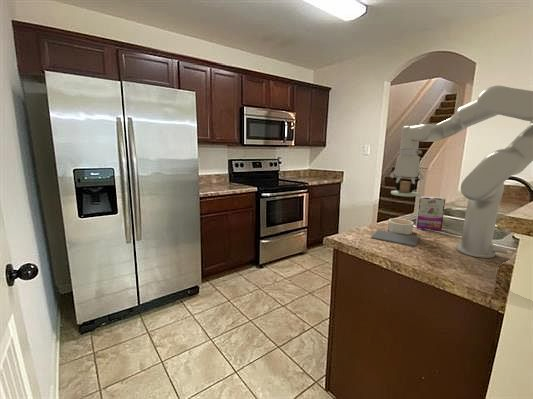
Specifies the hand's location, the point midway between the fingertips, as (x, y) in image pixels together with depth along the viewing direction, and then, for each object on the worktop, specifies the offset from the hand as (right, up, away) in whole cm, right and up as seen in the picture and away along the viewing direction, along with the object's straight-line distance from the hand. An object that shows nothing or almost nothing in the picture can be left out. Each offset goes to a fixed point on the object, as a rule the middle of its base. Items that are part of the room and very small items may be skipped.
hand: (404, 191), depth 128 cm
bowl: (0, -20, +4) cm, 20 cm away
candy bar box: (+16, -19, +9) cm, 27 cm away
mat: (-7, -22, -6) cm, 24 cm away
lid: (0, -2, 0) cm, 2 cm away
